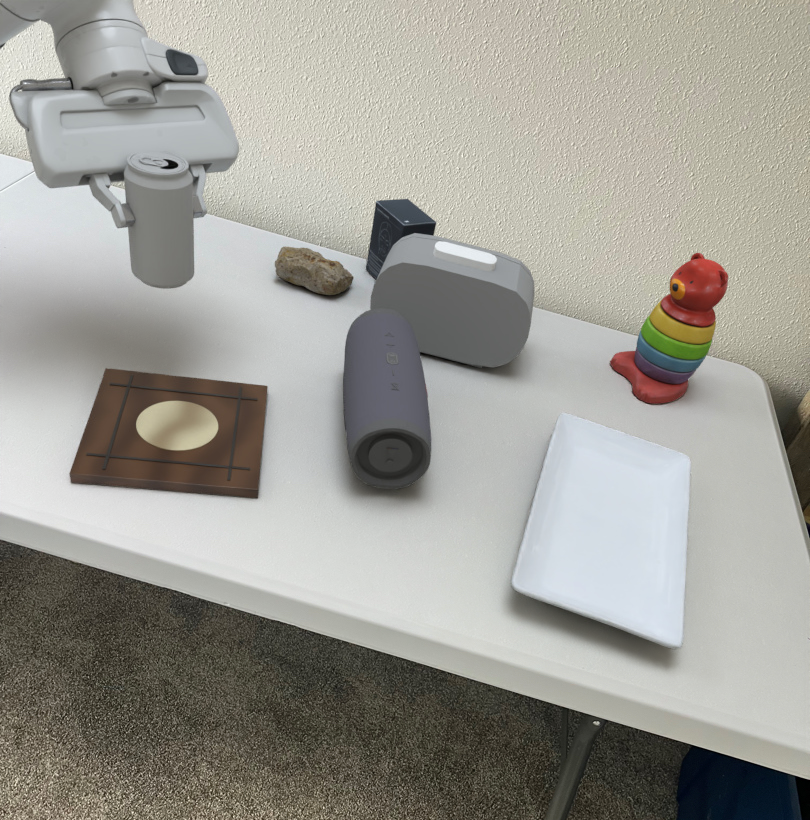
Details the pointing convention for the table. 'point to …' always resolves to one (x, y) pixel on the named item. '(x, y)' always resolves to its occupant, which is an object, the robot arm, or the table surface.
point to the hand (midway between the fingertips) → (163, 220)
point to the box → (394, 229)
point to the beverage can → (160, 219)
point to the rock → (312, 271)
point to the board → (173, 434)
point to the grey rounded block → (458, 298)
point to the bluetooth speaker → (385, 401)
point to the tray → (609, 531)
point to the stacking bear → (675, 333)
